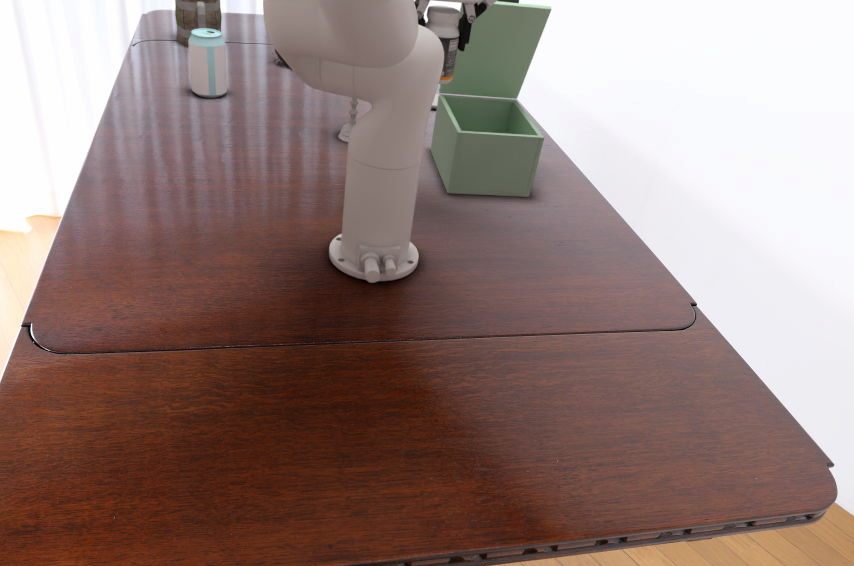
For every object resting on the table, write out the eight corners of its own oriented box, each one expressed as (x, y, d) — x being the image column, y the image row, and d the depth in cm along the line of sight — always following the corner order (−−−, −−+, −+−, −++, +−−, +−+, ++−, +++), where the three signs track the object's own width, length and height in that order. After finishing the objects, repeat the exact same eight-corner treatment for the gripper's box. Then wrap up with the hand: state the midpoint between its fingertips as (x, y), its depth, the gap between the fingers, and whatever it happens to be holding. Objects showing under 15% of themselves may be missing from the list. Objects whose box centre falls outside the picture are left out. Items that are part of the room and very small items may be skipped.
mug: (175, 34, 170) (171, -18, 162) (220, 36, 173) (218, -15, 166) (179, 54, 158) (175, -2, 151) (227, 55, 161) (225, 1, 154)
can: (189, 87, 141) (185, 26, 134) (224, 86, 144) (221, 27, 137) (194, 99, 136) (190, 37, 129) (229, 98, 139) (227, 37, 132)
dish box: (529, 197, 117) (544, 137, 111) (447, 193, 115) (457, 132, 109) (504, 154, 131) (516, 99, 125) (430, 150, 129) (438, 94, 123)
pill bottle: (409, 79, 102) (417, 8, 96) (424, 69, 106) (433, 1, 100) (443, 88, 100) (454, 17, 94) (458, 78, 105) (469, 10, 99)
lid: (551, 9, 109) (545, -12, 112) (463, 0, 106) (459, -21, 109) (517, 98, 124) (512, 78, 127) (439, 93, 122) (436, 72, 125)
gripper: (398, -97, 85) (384, 51, 96) (529, -83, 88) (501, 59, 99) (390, -105, 91) (378, 35, 102) (513, -92, 94) (488, 43, 105)
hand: (439, 45), depth 100 cm, fingers closed on pill bottle, 5 cm apart
